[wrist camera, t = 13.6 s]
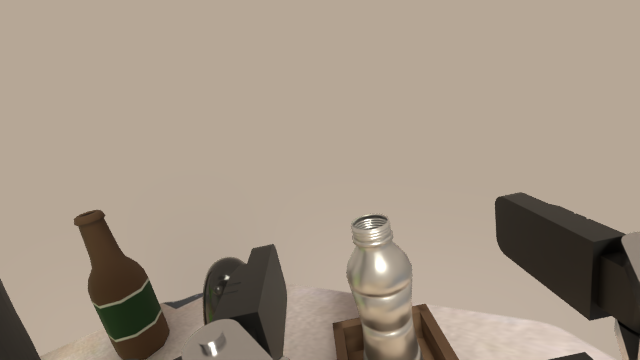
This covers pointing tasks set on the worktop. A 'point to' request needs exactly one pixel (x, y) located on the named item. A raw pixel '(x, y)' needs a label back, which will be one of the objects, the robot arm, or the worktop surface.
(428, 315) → the u rest
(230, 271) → the black egg-shaped dispenser
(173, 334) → the worktop surface
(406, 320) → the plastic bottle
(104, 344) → the worktop surface
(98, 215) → the beer bottle
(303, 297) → the worktop surface
